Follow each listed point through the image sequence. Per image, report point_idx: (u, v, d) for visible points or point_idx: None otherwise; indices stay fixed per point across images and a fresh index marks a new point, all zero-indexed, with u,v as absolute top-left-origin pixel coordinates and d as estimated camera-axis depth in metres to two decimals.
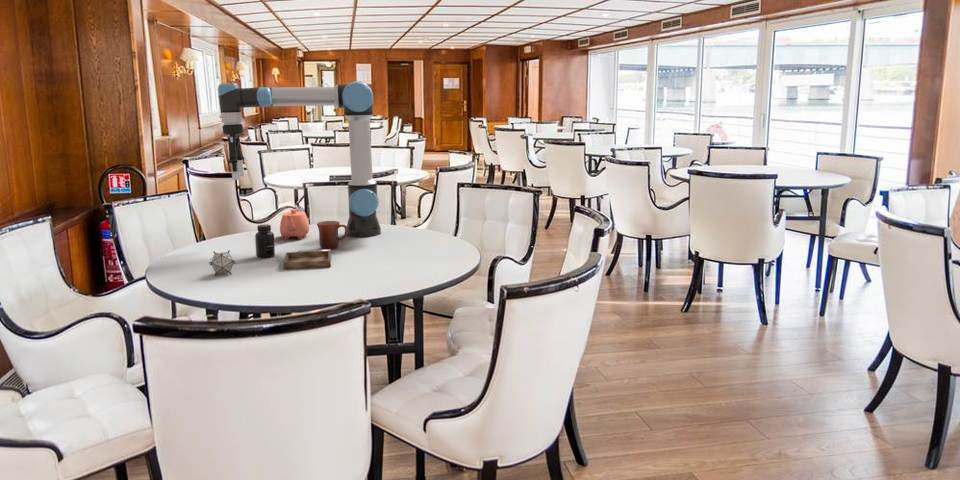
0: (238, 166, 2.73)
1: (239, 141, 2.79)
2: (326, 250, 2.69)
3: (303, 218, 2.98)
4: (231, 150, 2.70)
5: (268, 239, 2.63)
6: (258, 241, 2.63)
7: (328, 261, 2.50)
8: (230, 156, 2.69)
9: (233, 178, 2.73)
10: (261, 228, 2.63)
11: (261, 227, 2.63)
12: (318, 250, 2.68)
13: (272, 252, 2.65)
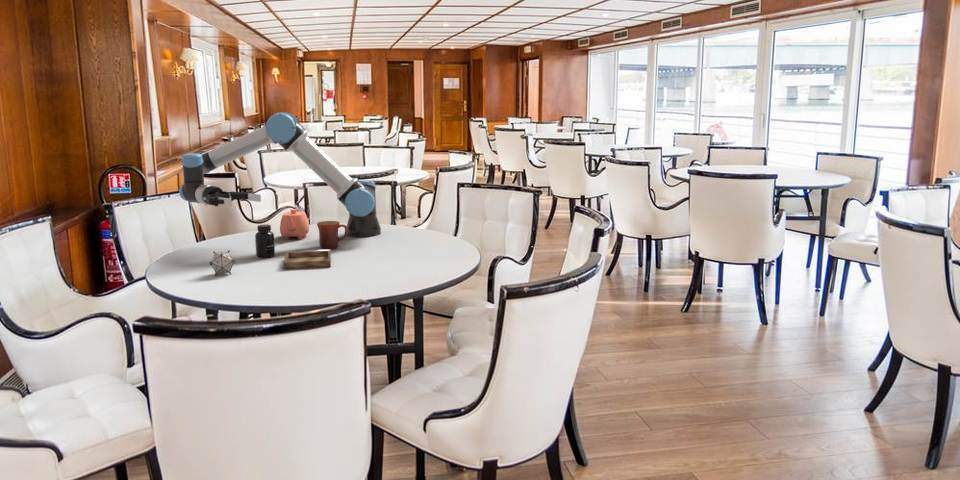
0: (222, 197, 2.65)
1: (223, 192, 2.76)
2: (326, 250, 2.69)
3: (303, 218, 2.98)
4: (207, 200, 2.67)
5: (268, 239, 2.63)
6: (258, 241, 2.63)
7: (328, 261, 2.50)
8: (208, 203, 2.65)
9: (229, 204, 2.63)
10: (261, 228, 2.63)
11: (261, 227, 2.63)
12: (318, 250, 2.68)
13: (272, 252, 2.65)
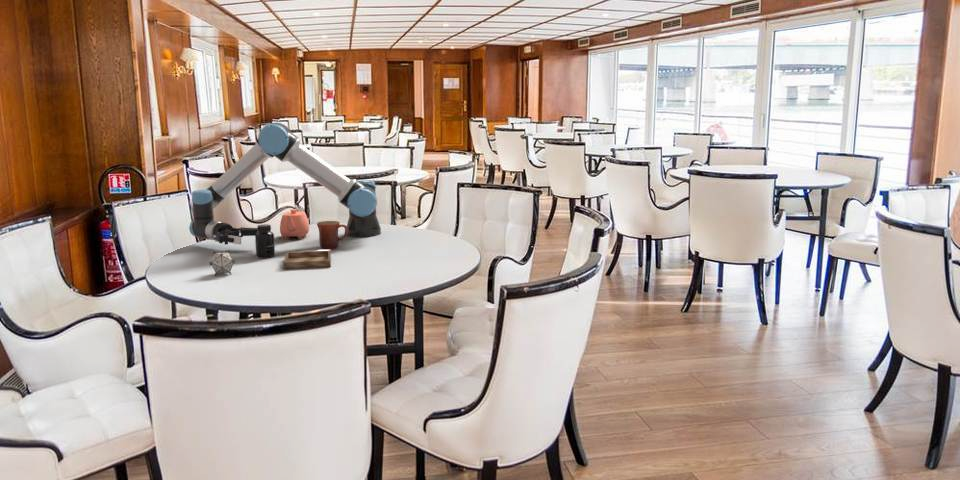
0: (232, 235, 2.65)
1: (233, 228, 2.76)
2: (326, 250, 2.69)
3: (303, 218, 2.98)
4: (217, 238, 2.67)
5: (268, 239, 2.63)
6: (258, 241, 2.63)
7: (328, 261, 2.50)
8: (218, 241, 2.65)
9: (239, 243, 2.62)
10: (261, 228, 2.63)
11: (261, 227, 2.63)
12: (318, 250, 2.68)
13: (272, 252, 2.65)
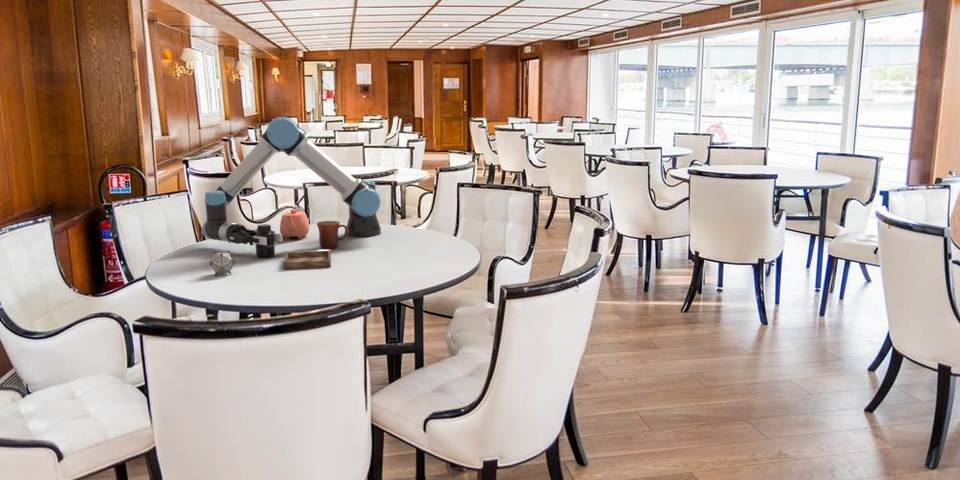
0: (256, 236, 2.62)
1: (246, 230, 2.72)
2: (326, 250, 2.69)
3: (303, 218, 2.98)
4: (238, 240, 2.64)
5: (268, 239, 2.63)
6: None
7: (328, 261, 2.50)
8: (242, 242, 2.62)
9: (264, 243, 2.60)
10: (261, 228, 2.62)
11: (261, 227, 2.62)
12: (318, 250, 2.68)
13: (272, 252, 2.65)
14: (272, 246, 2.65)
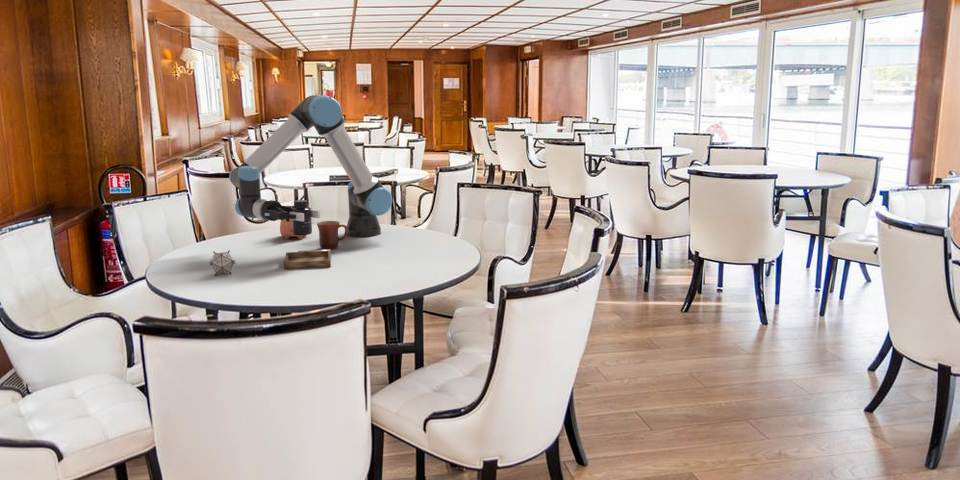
0: (293, 212, 2.50)
1: (282, 206, 2.60)
2: (326, 250, 2.69)
3: None
4: (274, 216, 2.52)
5: (305, 215, 2.51)
6: None
7: (328, 261, 2.50)
8: (278, 218, 2.50)
9: (301, 219, 2.48)
10: (298, 203, 2.50)
11: (298, 202, 2.50)
12: (318, 250, 2.68)
13: (309, 229, 2.53)
14: (309, 223, 2.53)
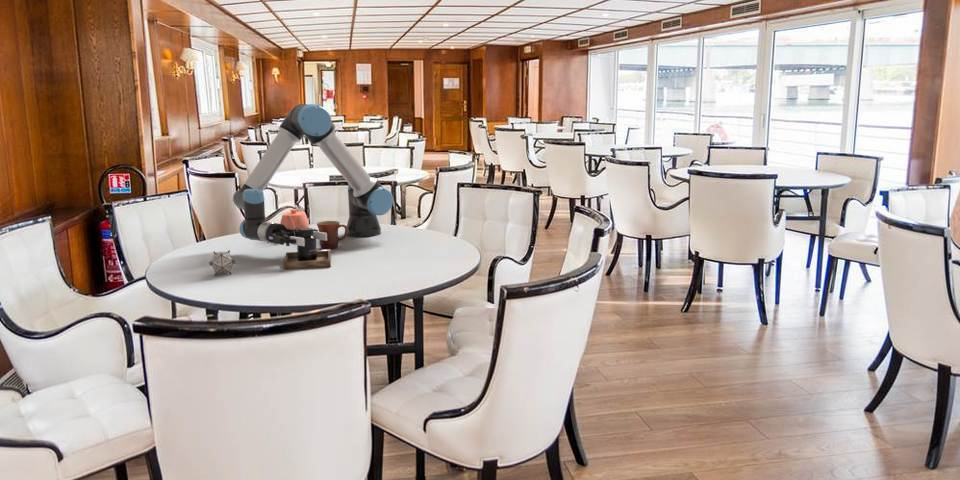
0: (293, 236, 2.51)
1: (287, 229, 2.61)
2: (326, 250, 2.69)
3: (303, 218, 2.98)
4: (276, 240, 2.53)
5: (311, 243, 2.53)
6: None
7: (328, 261, 2.50)
8: (279, 242, 2.51)
9: (302, 244, 2.48)
10: (303, 232, 2.52)
11: (303, 231, 2.52)
12: (318, 250, 2.68)
13: (314, 257, 2.55)
14: (314, 251, 2.54)
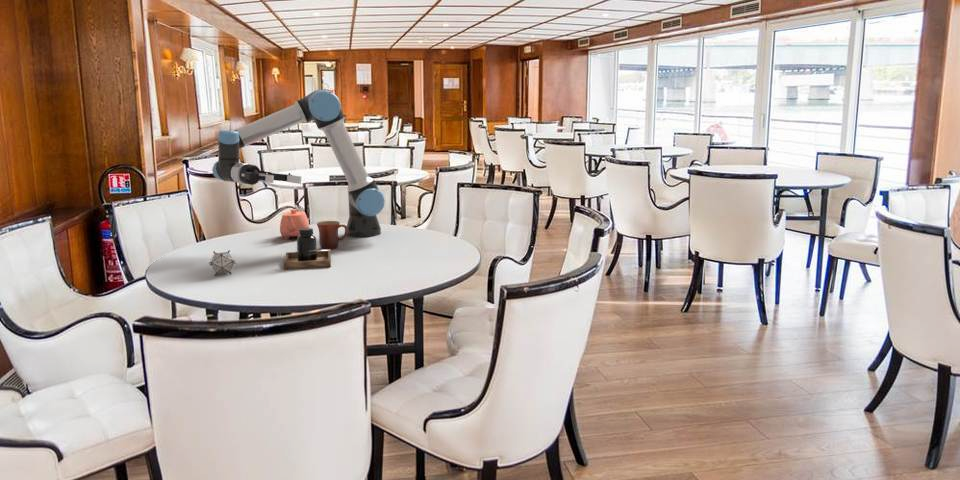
0: (263, 174, 2.54)
1: (261, 171, 2.65)
2: (326, 250, 2.69)
3: (303, 218, 2.98)
4: (246, 176, 2.56)
5: (311, 243, 2.53)
6: (300, 245, 2.52)
7: (328, 261, 2.50)
8: (248, 178, 2.54)
9: (270, 181, 2.51)
10: (303, 232, 2.52)
11: (303, 231, 2.52)
12: (318, 250, 2.68)
13: (314, 257, 2.55)
14: (314, 251, 2.54)
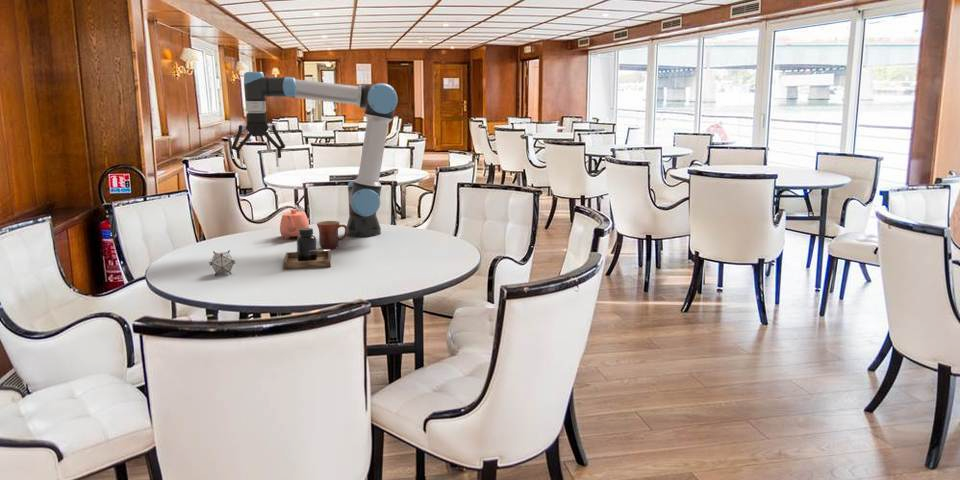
0: None
1: None
2: (326, 250, 2.69)
3: (303, 218, 2.98)
4: (279, 137, 2.79)
5: (311, 243, 2.53)
6: (300, 245, 2.52)
7: (328, 261, 2.50)
8: (283, 143, 2.79)
9: (278, 165, 2.81)
10: (303, 232, 2.52)
11: (303, 231, 2.52)
12: (318, 250, 2.68)
13: (314, 257, 2.55)
14: (314, 251, 2.54)
